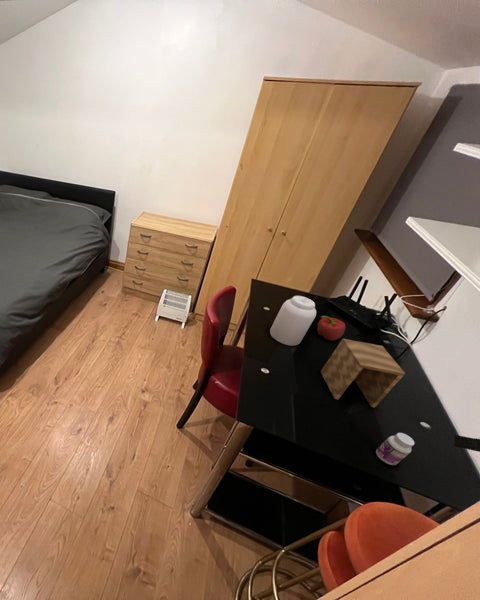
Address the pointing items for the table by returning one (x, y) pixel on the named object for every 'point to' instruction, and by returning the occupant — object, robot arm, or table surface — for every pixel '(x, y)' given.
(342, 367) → the cubby
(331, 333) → the vegetable
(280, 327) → the white jar
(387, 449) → the pill bottle
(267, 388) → the table surface
